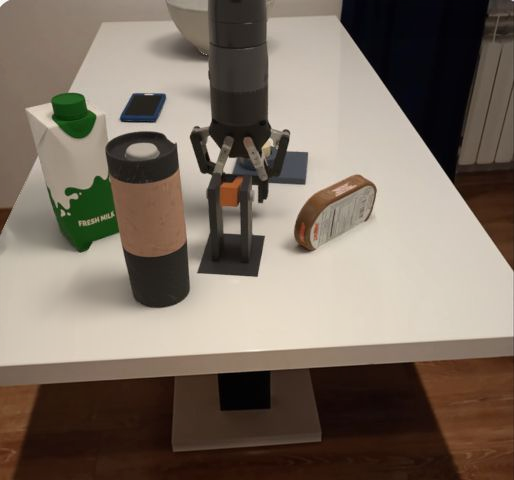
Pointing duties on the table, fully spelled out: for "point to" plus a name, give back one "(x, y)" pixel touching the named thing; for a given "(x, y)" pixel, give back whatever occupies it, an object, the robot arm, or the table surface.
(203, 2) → the decorative bowl
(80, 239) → the milk carton
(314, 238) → the tin
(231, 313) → the table surface
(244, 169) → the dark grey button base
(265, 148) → the power button
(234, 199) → the switch lever
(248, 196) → the twin post stand
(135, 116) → the cell phone
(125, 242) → the travel mug
